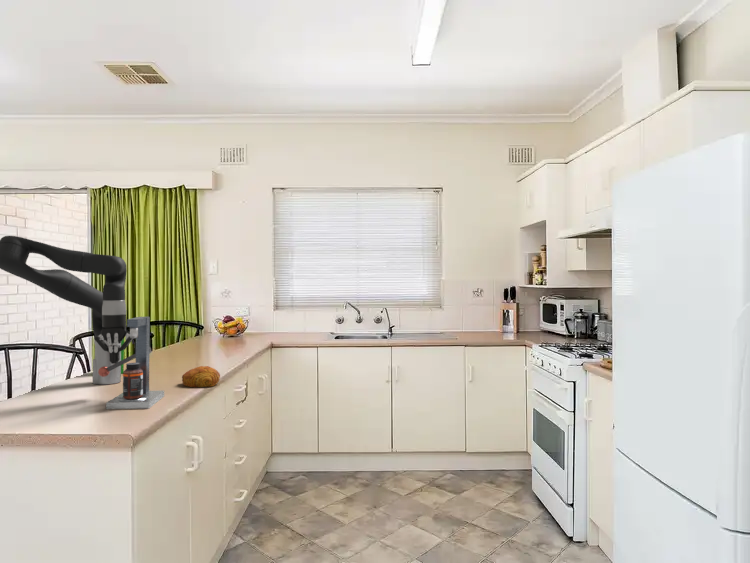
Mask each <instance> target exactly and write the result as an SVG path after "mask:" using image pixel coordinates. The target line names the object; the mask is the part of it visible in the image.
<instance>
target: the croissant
mask: <svg viewBox="0 0 750 563" xmlns="http://www.w3.org/2000/svg"><path fill="white" fill-rule="evenodd" d="M220 378H221V374H220V372H219V371H218V370H216V369H215V368H214V367H211V366H209V365H208V366H207V365H205V366H204V365H201V366H197V367H194V368H191V369H189V370H187V371H186V372H184V373H183V374H182V376H181V381H182V385H184V386H185V387H189V388H207V387H208V388H210V387H215V386H216V385H217V384H218V383H219V381H220Z"/></svg>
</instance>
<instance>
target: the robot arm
mask: <svg viewBox="0 0 750 563" xmlns="http://www.w3.org/2000/svg"><path fill="white" fill-rule="evenodd" d="M30 254H37V255H41V256H43V257H45V258H46V259H48V260H49V261H51V262H52V263H54V264H55V265H56V266H58V267H60V268H62V269H60V268H58V269H55V268H53V269H37V268H34V267H32V266H30V265H29V264H27V260H28V258H29V255H30ZM127 269H128V268H127V264H126V261H125V260H124V259H123V258H122V257H120V256H117V255H109V254H98V253H92V252H89V251H88V252H87V251H80V250H74V249H67V248H62V247H58V246H55V245H50V244H47V243H45V242H44V243H43V242H41V241H37V240H33V239H30V238H25V237H22V236H14V235H5V236H2V237H1V238H0V270H1V271H4V272H6V273H9V274H10V275H14V276H16V277H19V278H20V279H23V280H26V281H28V282H29V283H31V284H34V285H36V286H38V287H40V288H42V289H44V290H46V291H48V292H49V293H51V294H53V295H55V296H56V297H59V299H63V301H64V300H65V301H67V302H70V303H73V304H77V305H79V306H82V307H87V308H89V309H90V310H91V319H92V332H93V334H94V358H93V360H92V384H95V385H115V384H117V383H120V382H121V379H122V378H121V377H122V376H121V375H122V374H121V366H119V367H117V368H115V369H113V370H111V371H110V373H109V375H108V376H106V377H102V376H100V375H99V374H98V370H99V369H100V368H101V367H103V366H106V367H110V366H112V365H114V364H115V363H117V362H119V361H121V351H122V350H124V351H125V350H126V349H127V348H128V347H129V345H130V344H131V342H132V341H133V340H134V339H135V338H130V333H128V332H129V331H128V329H127V303H126V288H125V287H126V280H127ZM69 271H71V272H79V273H85V274H86V273H89V274H90V273H91V274H96V275H102V276H105V278H104V285H103V287H102V291H101V290H99V289H97V288H95V287H94V286H92V285H90V284H89V283H88V282H86V281H84V280H82V279H81V278H79V277H78V276H76V275H74V274H72V273H71V272H69ZM123 339H124V343H123V345H122V346H121V341H122V340H123Z"/></svg>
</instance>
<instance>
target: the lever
mask: <svg viewBox="0 0 750 563" xmlns="http://www.w3.org/2000/svg"><path fill="white" fill-rule="evenodd" d="M151 353H152V347H151V346H150V347H149V355H151ZM134 359H135V360H136V352H135V353H134V354H132V355H130V356H127V357H124V359H123V360H121V361H119V362H117V363H115V364H114V365H112V366H110V367H106V366H103V367H101V368H100V369H99V370H98V374H99V375H100V376H102V377H106V376H108V375H109V373H110V371H111V370H113V369H115V368H117V367H119V366H121V365H123V364H124V365H126V364H127V363H128V362H129V363H130V361H132V360H134Z"/></svg>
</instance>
